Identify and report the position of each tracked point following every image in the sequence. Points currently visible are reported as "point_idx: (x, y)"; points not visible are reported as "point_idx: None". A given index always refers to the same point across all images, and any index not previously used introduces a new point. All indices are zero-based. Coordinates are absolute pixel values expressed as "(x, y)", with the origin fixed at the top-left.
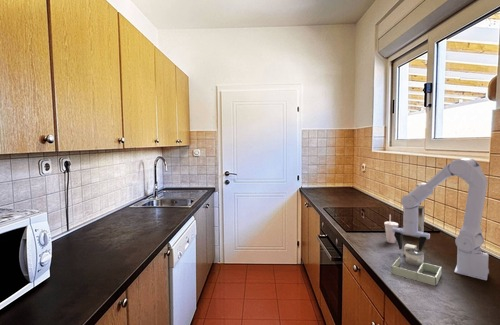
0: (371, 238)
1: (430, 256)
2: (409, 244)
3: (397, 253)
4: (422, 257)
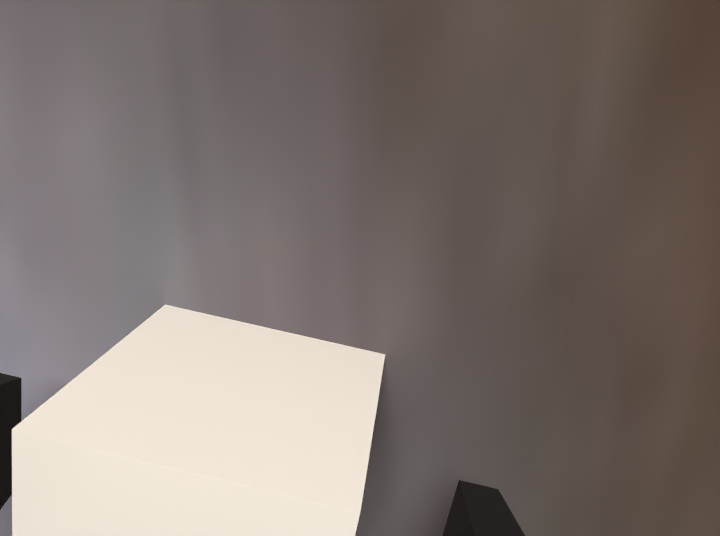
0: None
1: (713, 370)
2: (122, 485)
3: None
4: None
